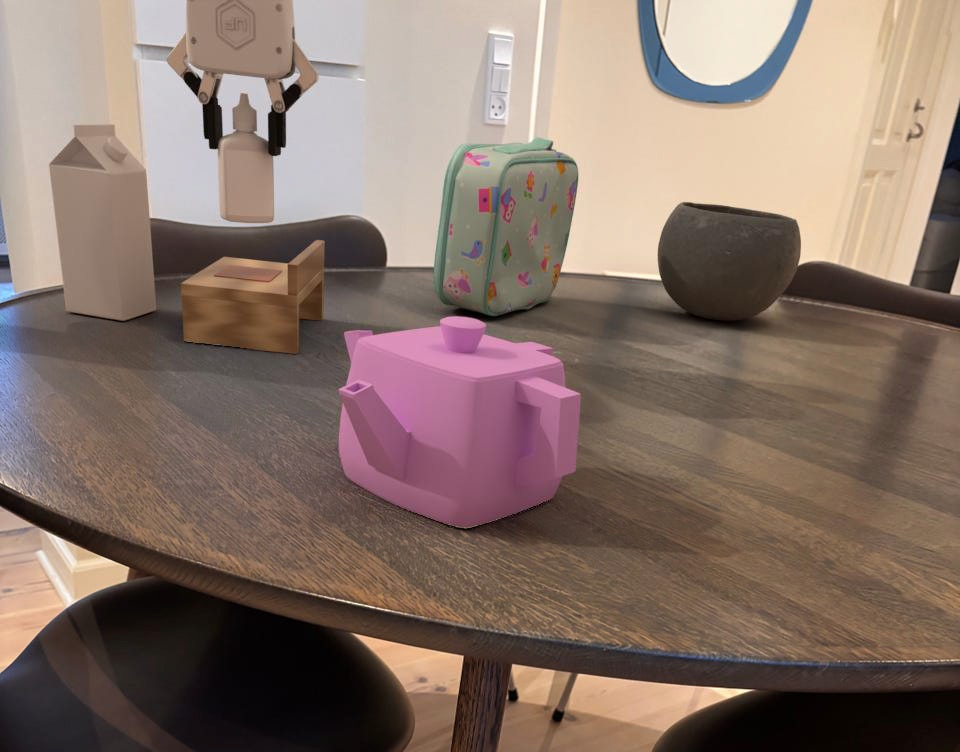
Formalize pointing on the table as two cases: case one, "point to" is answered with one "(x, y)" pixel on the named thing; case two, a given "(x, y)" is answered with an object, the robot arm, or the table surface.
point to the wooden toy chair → (254, 301)
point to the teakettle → (456, 421)
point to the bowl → (727, 259)
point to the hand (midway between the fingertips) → (245, 149)
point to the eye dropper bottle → (245, 170)
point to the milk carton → (103, 226)
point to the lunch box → (504, 225)
